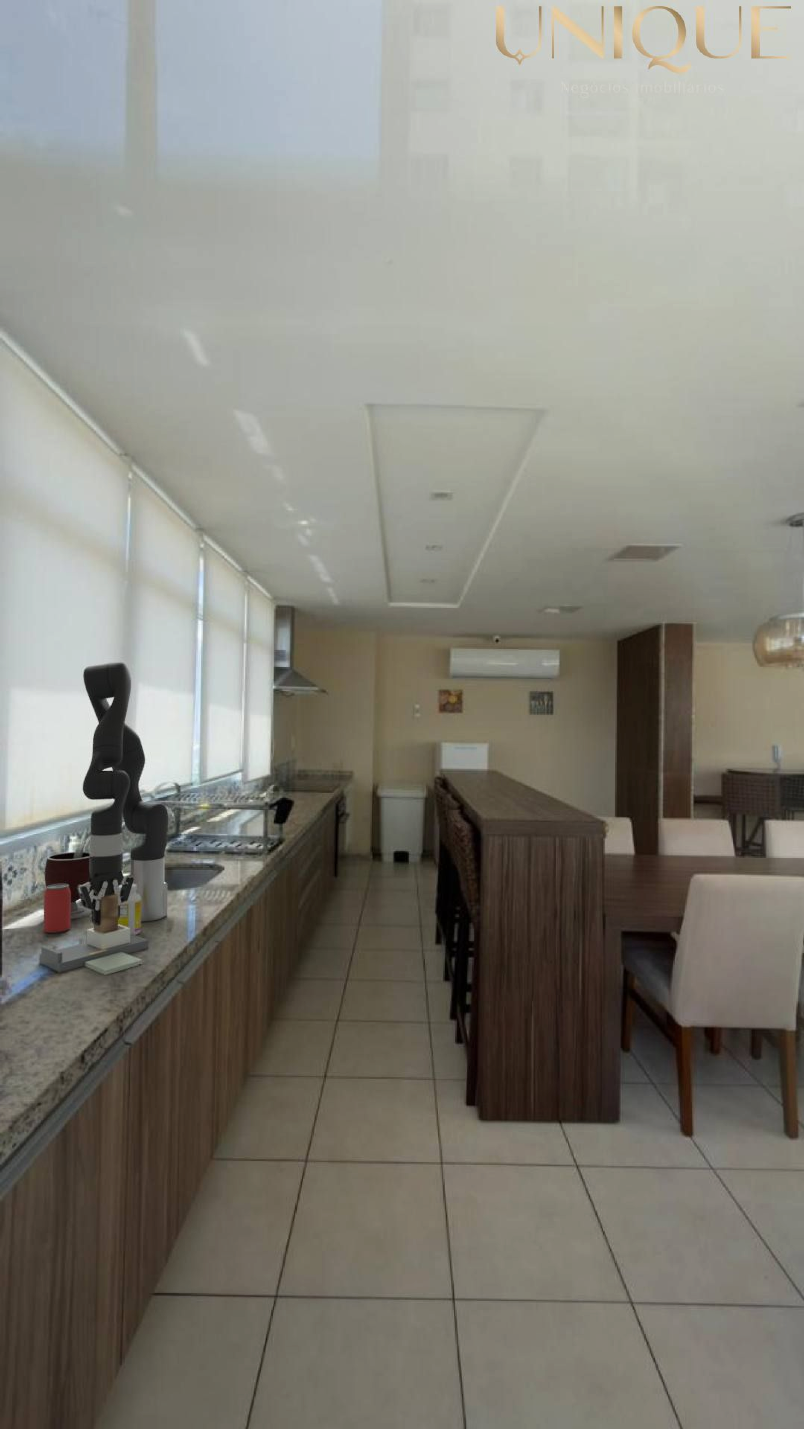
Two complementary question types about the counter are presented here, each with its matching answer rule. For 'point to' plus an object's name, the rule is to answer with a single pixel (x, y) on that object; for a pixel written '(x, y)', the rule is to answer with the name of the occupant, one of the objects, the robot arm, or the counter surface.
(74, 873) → the mate gourd
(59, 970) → the switch panel
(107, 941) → the tab
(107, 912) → the peg
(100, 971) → the tool rest
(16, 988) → the counter surface
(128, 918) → the supplement bottle
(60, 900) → the beer can
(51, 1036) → the counter surface
